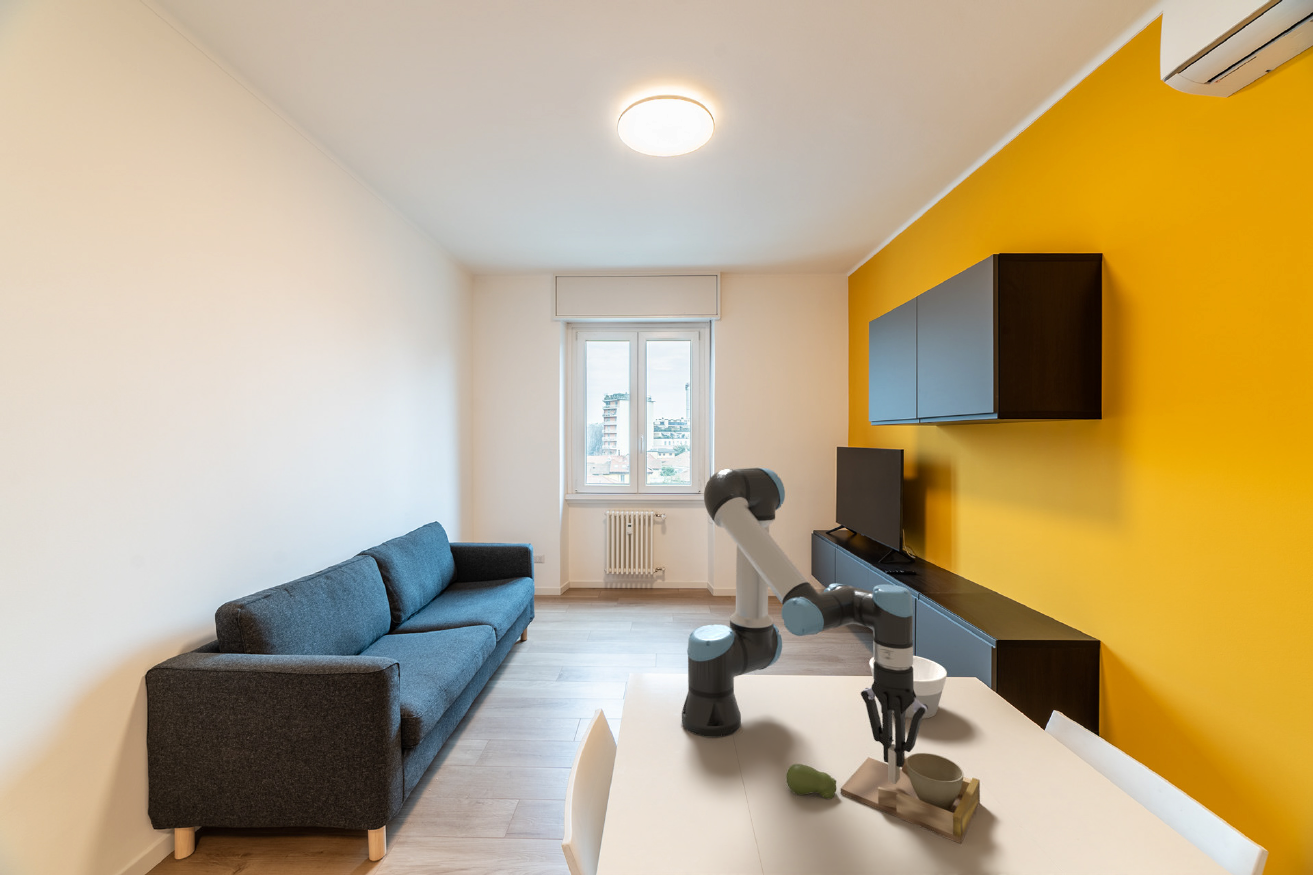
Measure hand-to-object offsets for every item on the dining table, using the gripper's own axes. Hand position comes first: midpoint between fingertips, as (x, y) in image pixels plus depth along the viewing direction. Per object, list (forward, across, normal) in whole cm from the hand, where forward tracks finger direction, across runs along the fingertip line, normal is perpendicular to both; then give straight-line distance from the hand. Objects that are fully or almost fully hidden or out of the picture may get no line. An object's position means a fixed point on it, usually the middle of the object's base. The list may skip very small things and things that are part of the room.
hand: (894, 779), depth 114 cm
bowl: (+3, -10, +41) cm, 42 cm away
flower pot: (+2, +8, 0) cm, 8 cm away
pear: (+3, -13, -11) cm, 17 cm away
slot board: (+3, +3, 0) cm, 4 cm away
